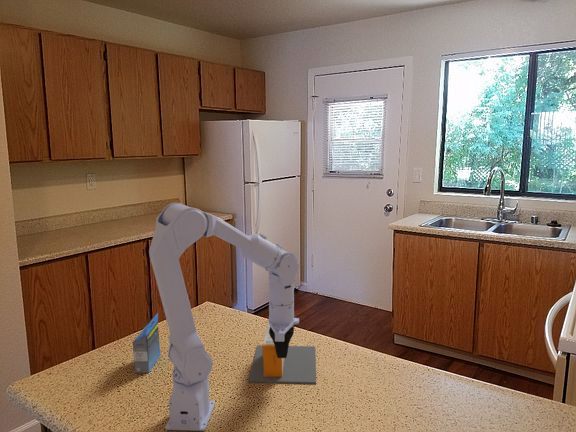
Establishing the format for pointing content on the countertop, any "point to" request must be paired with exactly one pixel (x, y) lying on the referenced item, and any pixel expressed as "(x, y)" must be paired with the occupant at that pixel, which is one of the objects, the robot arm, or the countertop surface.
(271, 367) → the supplement box
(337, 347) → the countertop surface
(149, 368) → the label tape cartridge
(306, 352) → the mat
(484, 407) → the countertop surface
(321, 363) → the countertop surface
